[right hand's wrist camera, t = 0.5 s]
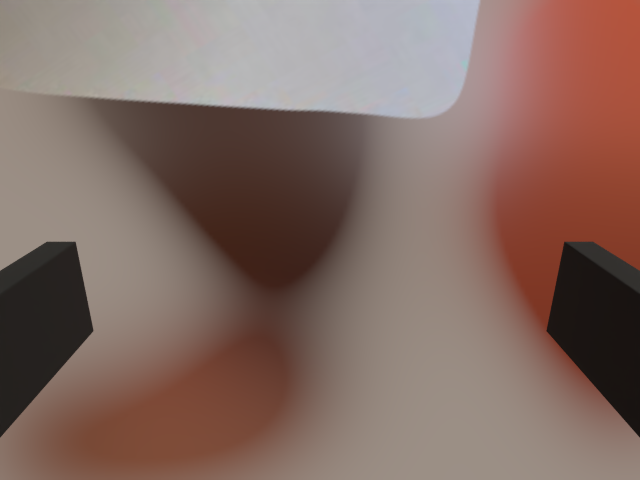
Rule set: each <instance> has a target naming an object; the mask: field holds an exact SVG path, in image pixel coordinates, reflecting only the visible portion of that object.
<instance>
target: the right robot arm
mask: <svg viewBox="0 0 640 480" xmlns="http://www.w3.org/2000/svg"><path fill="white" fill-rule="evenodd" d="M92 332H93V326H92V321H91V316H90V311H89V307H88V301H87V296H86V292H85V287H84V282H83V277H82V272H81V267H80V262H79V257H78V252H77V247H76V242H46V243H44V244H43V245H41V246H39V247H38V248H36V249H35V250H33V251H31V252H30V253H28V254H27V255H25V256H23V257H22V258H20V259H19V260H17V261H15V262H14V263H12V264H11V265H9V266H7V267H6V268H4V269H2V270H1V271H0V437H1V436H2V435H3V434H4V432H5V431H6V430H7V429H8V428H9V427H10V426H11V425H12V423H13V422H14V421H15V420H16V419H17V418H18V417H19V415H20V414H21V413H22V412H23V411H24V410H25V409H26V407H27V406H28V405H29V404H30V403H31V402H32V401H33V399H34V398H35V397H36V396H37V395H38V394H39V393H40V391H41V390H42V389H43V388H44V387H45V386H46V385H47V383H48V382H49V381H50V380H51V379H52V378H53V377H54V375H55V374H56V373H57V372H58V371H59V370H60V369H61V367H62V366H63V365H64V364H65V363H66V362H67V360H68V359H69V358H70V357H71V356H72V355H73V354H74V353H75V351H76V350H77V349H78V348H79V347H80V346H81V345H82V343H83V342H84V341H85V340H86V339H87V338H88V336H89V335H90V334H91V333H92ZM547 332H548V333H549V334H550V335H551V337H552V338H553V339H554V340H555V341H556V342H557V343H558V345H559V346H560V347H561V348H562V349H563V350H564V351H565V352H566V354H567V355H568V356H569V357H570V358H571V359H572V361H573V362H574V363H575V364H576V365H577V366H578V367H579V369H580V370H581V371H582V372H583V373H584V374H585V375H586V376H587V378H588V379H589V380H590V381H591V382H592V383H593V384H594V386H595V387H596V388H597V389H598V390H599V391H600V392H601V394H602V395H603V396H604V397H605V398H606V399H607V401H608V402H609V403H610V404H611V405H612V406H613V407H614V409H615V410H616V411H617V412H618V413H619V414H620V415H621V416H622V418H623V419H624V420H625V421H626V422H627V423H628V425H629V426H630V427H631V428H632V429H633V430H634V431H635V432H636V434H637V435H638V436H639V437H640V271H639V270H637V269H636V268H634V267H633V266H631V265H629V264H628V263H626V262H625V261H623V260H621V259H620V258H618V257H617V256H615V255H613V254H612V253H610V252H609V251H607V250H605V249H604V248H602V247H600V246H599V245H597V244H596V243H594V242H564V247H563V252H562V257H561V262H560V267H559V272H558V277H557V281H556V286H555V292H554V296H553V301H552V306H551V311H550V316H549V322H548V326H547Z"/></svg>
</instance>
